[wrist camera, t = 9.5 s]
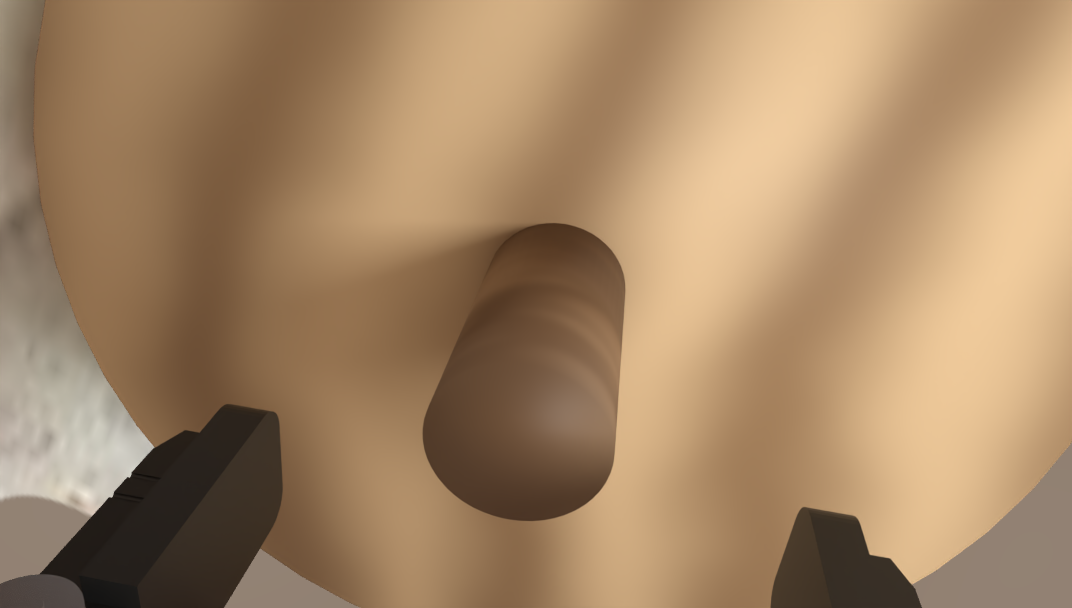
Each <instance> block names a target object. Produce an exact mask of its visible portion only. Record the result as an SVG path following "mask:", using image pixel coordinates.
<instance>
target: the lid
mask: <svg viewBox="0 0 1072 608" xmlns="http://www.w3.org/2000/svg"><path fill="white" fill-rule="evenodd" d="M33 138H34V147H35V156H36V165H37V173H38V182H39V191H40V200H41V206H42V210H43V214H44V218H45V222H46V226H47V230H48V234H49V238H50V243H51V247H52V251H53V255H54V259H55V263H56V266H57V269H58V272H59V275H60V277H61V280H62V283H63V285H64V288H65V291H66V293H67V296H68V299H69V301H70V304H71V307H72V309H73V312H74V315H75V317H76V320H77V323H78V325H79V327H80V329H81V331H82V333H83V335H84V337H85V338H86V340H87V342H88V344H89V346H90V348H91V350H92V352H93V354H94V356H95V358H96V360H97V362H98V364H99V366H100V368H101V370H102V372H103V374H104V376H105V377H106V379H107V381H108V382H109V384H110V385H111V387H112V388H113V390H114V391H115V393H116V394H117V396H118V397H119V399H120V400H121V402H122V403H123V405H124V407H125V408H126V410H127V411H128V413H129V414H130V416H131V417H132V419H133V420H134V422H135V423H136V425H137V426H138V427H139V429H140V430H141V431H142V432H143V434H144V435H145V436H146V437H147V438H148V440H149V441H150V442H151V443H152V445H153V446H154V447H157V446H159V445H160V444H162V443H164V442H165V441H167V440H169V439H171V438H172V437H174V436H176V435H177V434H179V433H181V432H183V431H184V430H188V431H194V432H199V433H200V431H201V430H202V429H203V428H204V427H205V425H206V424H207V423H208V422H209V421H210V420H211V418H212V417H213V416H214V415H215V414H216V412H217V411H218V410H219V409H220V408H221V407H222V406H224V405H225V404H234V405H239V406H245V407H251V408H256V409H262V410H268V411H273V412H275V413H276V414H277V416H278V418H279V425H280V443H281V462H282V481H283V493H282V501H281V506H280V509H279V513H278V516H277V519H276V521H275V523H274V526H273V527H272V529H271V531H270V533H269V534H268V536H267V538H266V539H265V541H264V543H263V544H262V546H261V548H260V549H262V550H263V551H265V552H266V553H268V554H269V555H271V556H272V557H274V558H275V559H277V560H278V561H280V562H281V563H283V564H284V565H286V566H287V567H289V568H290V569H291V570H293V571H294V572H296V573H297V574H299V575H300V576H302V577H304V578H306V579H307V580H309V581H311V582H313V583H315V584H316V585H318V586H320V587H322V588H324V589H326V590H327V591H329V592H331V593H333V594H335V595H336V596H338V597H340V598H342V599H344V600H346V601H347V602H349V603H351V604H354V605H356V606H358V607H361V608H771V595H772V589H773V584H774V580H775V577H776V574H777V571H778V568H779V565H780V563H781V560H782V557H783V554H784V551H785V548H786V545H787V542H788V540H789V537H790V534H791V531H792V528H793V525H794V522H795V519H796V517H797V514H798V512H799V511H800V509H801V508H802V507H808V508H814V509H820V510H825V511H831V512H837V513H842V514H848V515H853V516H856V517H857V518H858V520H859V522H860V525H861V528H862V531H863V534H864V538H865V541H866V544H867V547H868V551H869V554H870V555H874V556H880V557H885V558H890V559H891V560H892V561H893V562H894V564H895V565H896V566H897V567H898V568H899V570H900V571H901V572H902V573H903V575H904V576H905V577H906V578H907V580H908V581H909V582H910V583H911V585H912V584H913V583H915V582H917V581H919V580H920V579H922V578H924V577H925V576H927V575H929V574H931V573H932V572H934V571H936V570H937V569H939V568H940V567H941V566H943V565H944V564H945V563H947V562H948V561H949V560H951V559H952V558H953V557H955V556H956V555H957V554H959V553H960V552H962V551H963V550H964V549H965V548H967V547H968V546H970V545H971V544H972V543H974V542H975V541H976V540H977V539H979V538H980V537H982V536H983V535H984V534H986V533H987V532H988V531H989V530H990V529H991V528H992V527H993V526H994V525H995V524H996V523H998V522H999V521H1000V520H1001V519H1002V518H1003V517H1004V516H1005V515H1006V514H1007V513H1008V512H1009V511H1010V510H1011V509H1012V508H1013V507H1015V505H1017V504H1018V503H1019V502H1020V501H1021V500H1022V499H1023V498H1024V497H1025V496H1026V495H1027V494H1028V493H1029V492H1030V491H1031V490H1032V489H1033V488H1034V487H1035V486H1036V485H1037V484H1038V482H1039V481H1040V480H1041V479H1042V478H1043V476H1044V475H1045V474H1046V473H1047V472H1048V470H1049V469H1050V468H1051V467H1052V465H1053V464H1054V463H1055V462H1056V461H1057V459H1058V458H1059V457H1060V456H1061V455H1062V454H1063V452H1064V451H1065V450H1066V449H1067V447H1068V446H1069V445H1070V444H1071V443H1072V0H45V6H44V12H43V19H42V25H41V31H40V38H39V44H38V50H37V57H36V63H35V77H34V132H33Z"/></svg>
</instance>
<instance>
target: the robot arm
mask: <svg viewBox="0 0 1072 608" xmlns="http://www.w3.org/2000/svg"><path fill="white" fill-rule="evenodd" d="M282 493H283V481H282V462H281V443H280V425H279V418H278V416H277V414H276V413H275V412H273V411H268V410H262V409H256V408H251V407H245V406H239V405H234V404H225V405H224V406H222V407H221V408H220V409H219V410H218V411H217V412H216V414H215V415H214V416H213V417H212V418H211V420H210V421H209V422H208V423H207V424H206V425H205V427H204V428H203V429H202V430H201V431H200V433H199V432H194V431H188V430H184V431H183V432H181V433H179V434H177V435H176V436H174V437H172V438H171V439H169V440H167V441H165V442H164V443H162V444H160V445H159V446H157V447H155V448H153V449H152V451H151V452H150V453H149V454H148V455H147V456H146V457H145V458H144V459H143V461H142V462H141V463H140V464H139V465H138V466H137V467H136V468H135V469H134V470H133V472H132V475H131V477H130V478H129V477H127V478H126V479H125V480H124V482H123V483H122V484H121V485H120V486H119V487H118V488H117V489H116V490H115V492H114V495H113V497H112V498H110V497H109V498H108V499H107V500H106V501H105V503H104V504H103V505H102V506H101V507H100V508H99V509H98V510H97V511H96V513H95V514H94V515H93V516H92V517H91V518H90V519H89V520H88V521H87V523H86V524H85V525H84V526H83V527H82V528H81V530H79V531H78V532H77V534H76V535H75V536H74V537H73V538H72V539H71V540H70V541H69V542H68V544H67V545H66V546H65V547H64V548H63V549H62V550H61V551H60V552H59V554H58V555H57V556H56V557H55V558H54V559H53V560H52V561H51V562H50V563H49V565H48V566H47V567H46V568H45V569H44V570H43V571H42V572H41V573H40V574H39V575H29V576H24V577H19V578H16V579H12V580H9V581H6V582H4V583H1V584H0V608H224V607H225V605H226V603H227V602H228V600H229V598H230V597H231V595H232V594H233V592H234V590H235V589H236V587H237V585H238V584H239V582H240V580H241V579H242V577H243V575H244V574H245V572H246V571H247V569H248V567H249V566H250V564H251V562H252V561H253V559H254V557H255V556H256V554H257V552H258V551H259V549H260V548H261V546H262V544H263V543H264V541H265V539H266V538H267V536H268V534H269V533H270V531H271V529H272V527H273V526H274V523H275V521H276V519H277V516H278V513H279V509H280V506H281V501H282ZM771 608H922V607H921V604H920V601H919V598H918V596H917V593H916V590H915V588H914V587H913V586H912V585H911V583H910V582H909V581H908V580H907V578H906V577H905V576H904V575H903V573H902V572H901V571H900V570H899V568H898V567H897V566H896V565H895V564H894V562H893V561H892V560H891V559H890V558H885V557H880V556H874V555H870V554H869V551H868V547H867V544H866V541H865V538H864V534H863V531H862V528H861V525H860V522H859V520H858V518H857V517H856V516H853V515H848V514H842V513H837V512H831V511H825V510H820V509H814V508H808V507H802V508H801V509H800V511H799V512H798V514H797V517H796V519H795V522H794V525H793V528H792V531H791V534H790V537H789V540H788V542H787V545H786V548H785V551H784V554H783V557H782V560H781V563H780V565H779V568H778V571H777V574H776V577H775V580H774V584H773V589H772V595H771Z"/></svg>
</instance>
